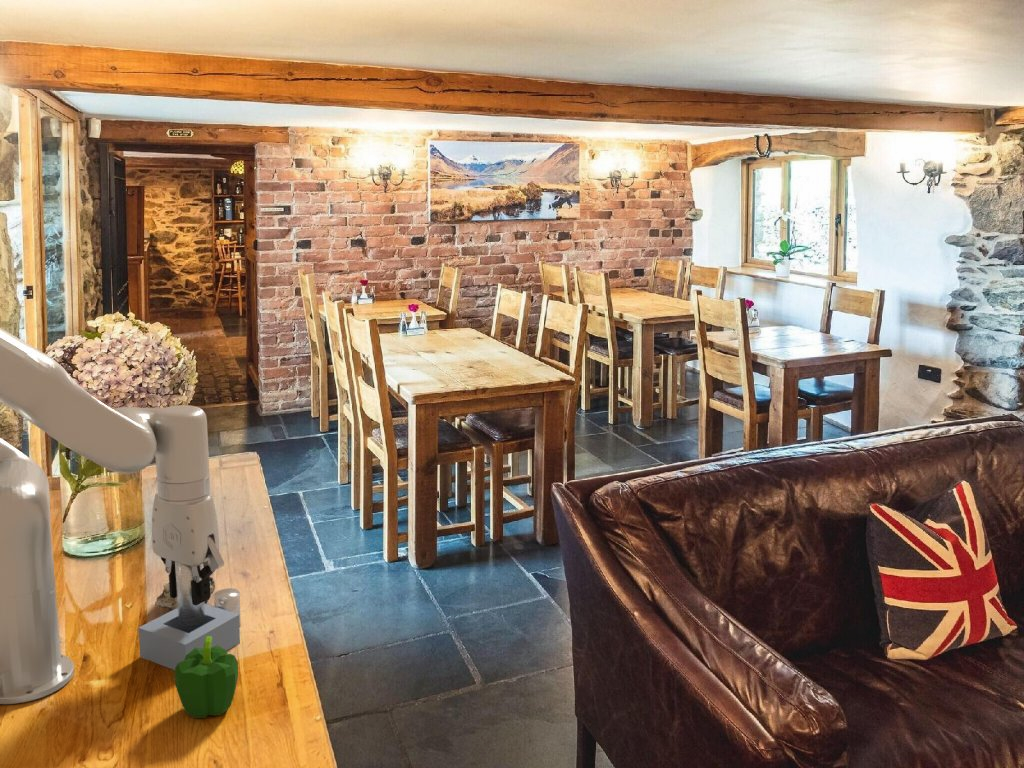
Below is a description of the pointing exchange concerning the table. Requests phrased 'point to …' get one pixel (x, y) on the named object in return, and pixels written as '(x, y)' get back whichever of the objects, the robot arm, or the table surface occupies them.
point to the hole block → (186, 636)
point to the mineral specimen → (169, 602)
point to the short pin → (228, 601)
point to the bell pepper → (206, 680)
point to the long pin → (187, 598)
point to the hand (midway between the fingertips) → (190, 597)
